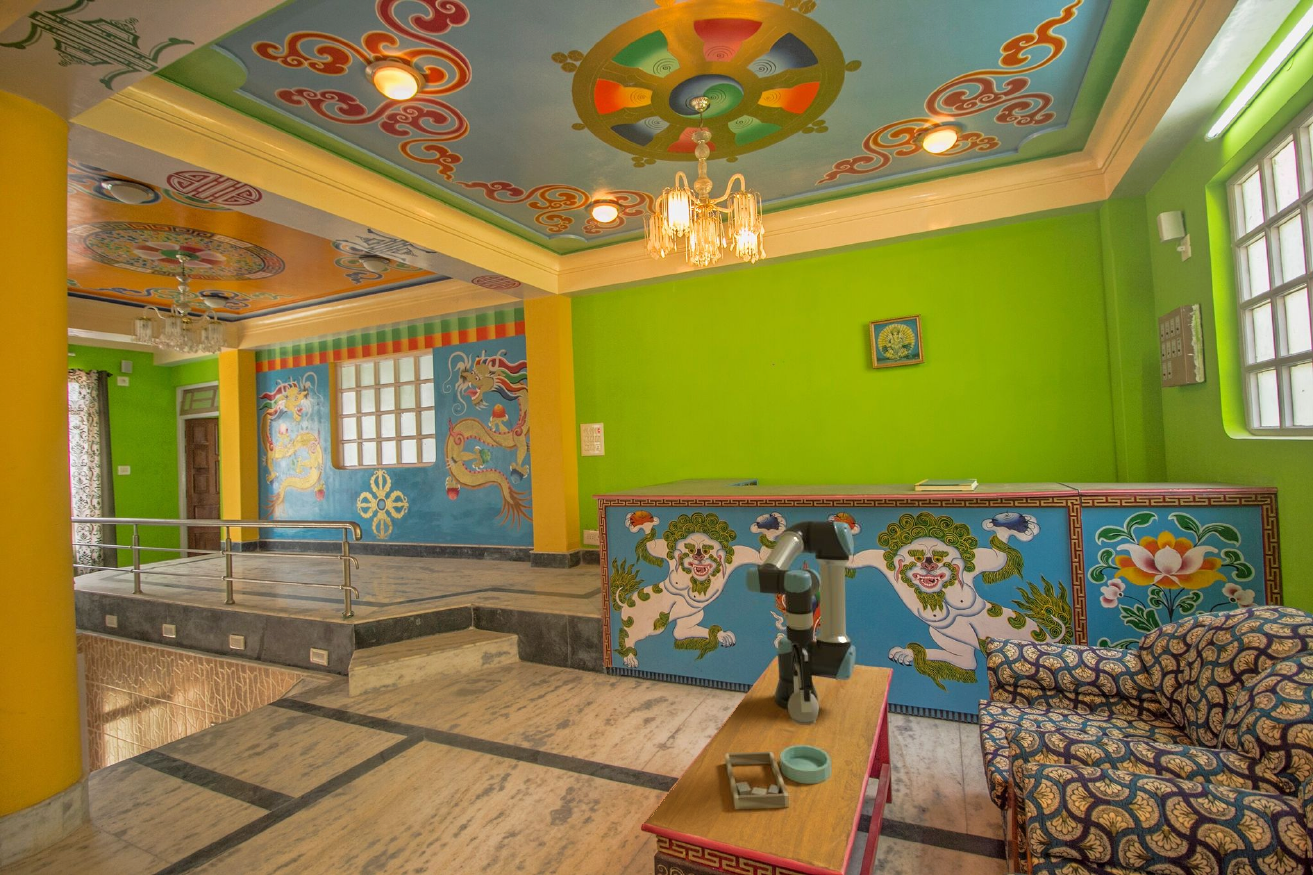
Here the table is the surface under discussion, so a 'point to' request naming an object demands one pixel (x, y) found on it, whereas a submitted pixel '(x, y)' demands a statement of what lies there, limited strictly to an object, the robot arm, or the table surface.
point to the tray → (762, 799)
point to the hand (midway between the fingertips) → (802, 704)
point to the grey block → (743, 788)
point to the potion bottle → (795, 706)
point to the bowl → (805, 764)
